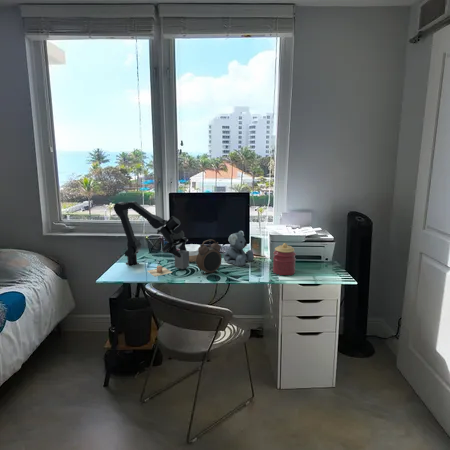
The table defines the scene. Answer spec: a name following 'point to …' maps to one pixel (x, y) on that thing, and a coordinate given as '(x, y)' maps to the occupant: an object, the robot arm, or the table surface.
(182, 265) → the gray rectangular block
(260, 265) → the table surface
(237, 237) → the koala plush
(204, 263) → the alarm clock
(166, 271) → the cork mat
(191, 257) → the bowl
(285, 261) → the canister
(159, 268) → the ink pot
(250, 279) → the table surface
